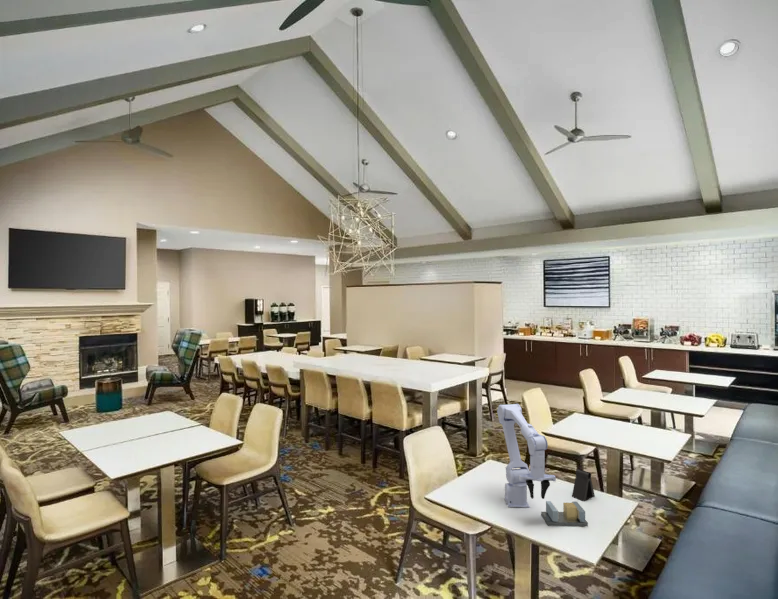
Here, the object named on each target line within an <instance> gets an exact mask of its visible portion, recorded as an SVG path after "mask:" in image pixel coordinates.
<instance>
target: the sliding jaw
mask: <svg viewBox="0 0 778 599" xmlns="http://www.w3.org/2000/svg"><path fill="white" fill-rule="evenodd" d="M545 512H547V513H548V515H549V516H550V518H551V519H552V521H556V522H558V514H559V512H560V511H559V510H558V509H557V507H556V505H555V504H554V503H553V502H552V501H551V500H546V501H545Z"/></svg>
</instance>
